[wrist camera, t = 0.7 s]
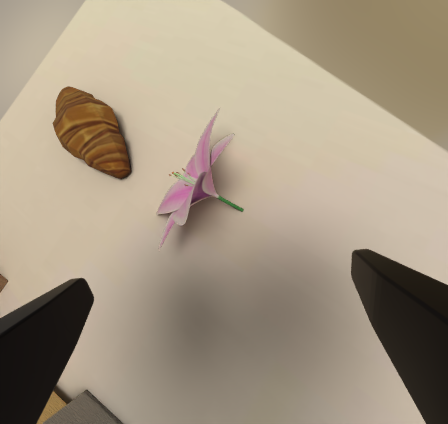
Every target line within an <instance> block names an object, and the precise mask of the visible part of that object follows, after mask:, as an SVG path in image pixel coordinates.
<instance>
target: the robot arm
mask: <svg viewBox="0 0 448 424" xmlns="http://www.w3.org/2000/svg"><path fill="white" fill-rule="evenodd" d="M351 276H352V279H353V282H354V284H355V287H356V289H357V291H358V294H359V296H360V299H361V301H362V303H363V306H364V308H365V311H366V313H367V315H368V318H369V320H370V322H371V324H372V327H373V328H374V330H375V332H376V334H377V336H378V338H379V340H380V341H381V343H382V345H383V347H384V349H385V350H386V352H387V354H388V356H389V358H390V359H391V361H392V363H393V365H394V367H395V368H396V370H397V372H398V374H399V376H400V377H401V379H402V381H403V383H404V385H405V386H406V388H407V390H408V392H409V394H410V395H411V397H412V399H413V401H414V403H415V404H416V406H417V408H418V410H419V412H420V413H421V415H422V417H423V419H424V421H425V422H426V424H448V285H446V284H444V283H442V282H440V281H438V280H435V279H433V278H431V277H429V276H426V275H424V274H422V273H420V272H418V271H415V270H413V269H411V268H409V267H407V266H404V265H402V264H400V263H398V262H396V261H393V260H391V259H389V258H387V257H385V256H382V255H380V254H378V253H376V252H373V251H371V250H369V249H360V250H354V251H353V253H352V263H351ZM93 302H94V296H93V293H92V291H91V289H90V287H89V285H88V283H87V281H86V280H85V279H84V278H76V279H71V280H69V281H67V282H65V283H63V284H61V285H60V286H58V287H56V288H54V289H52V290H51V291H49V292H47V293H45V294H43V295H41V296H40V297H38V298H36V299H34V300H32V301H31V302H29V303H27V304H25V305H23V306H22V307H20V308H18V309H16V310H14V311H13V312H11V313H9V314H7V315H5V316H4V317H2V318H0V424H37V422H38V420H39V418H40V416H41V414H42V412H43V410H44V408H45V406H46V404H47V402H48V400H49V398H50V396H51V394H52V392H53V390H54V388H55V386H56V384H57V382H58V380H59V378H60V376H61V375H62V373H63V371H64V369H65V367H66V365H67V363H68V361H69V359H70V357H71V355H72V353H73V351H74V349H75V346H76V344H77V342H78V340H79V337H80V335H81V332H82V330H83V327H84V325H85V322H86V320H87V317H88V315H89V312H90V310H91V307H92V305H93Z"/></svg>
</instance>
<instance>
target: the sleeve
mask: <svg viewBox="0 0 448 424" xmlns="http://www.w3.org/2000/svg"><path fill="white" fill-rule="evenodd" d="M43 424H123V423H122V422H121V421H120V420H119V419H117V418H116V417H115V416H114V415H113V414H112V413H111V412H110V411H109V410H108V409H107V408H106V407H105V406H103V405H102V404H101V403H100V402H99V401H98V400H97V399H96V398H95V397H94V396H93V395H92V394H91V393H90V392H88V391H87V390H86V391H84V392H83V393H82V394H80V395H79V396H78V397H76V398H75V399H74V400H72V401H71V402H70V403H69V404H67V405H66V406H65V407H63V408H62V409H61V410H59V411H58V412H57V413H55V414H54V415H53V416H51V417H50V418H49V419H47V420H46V421H45V422H43Z"/></svg>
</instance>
